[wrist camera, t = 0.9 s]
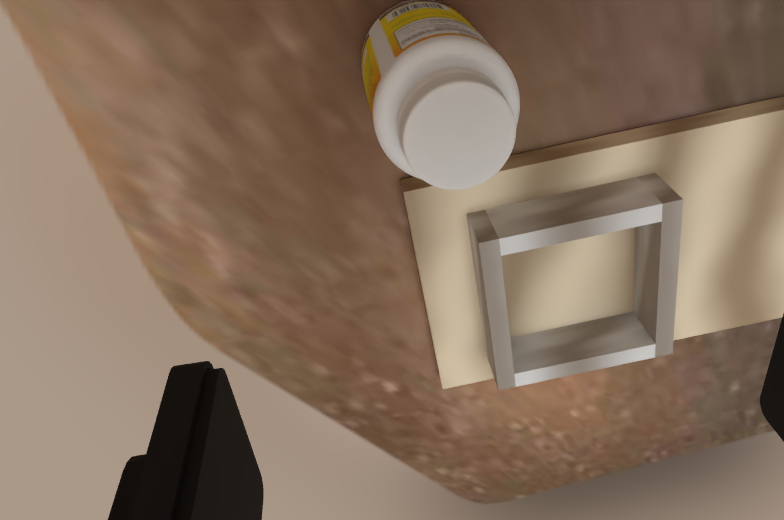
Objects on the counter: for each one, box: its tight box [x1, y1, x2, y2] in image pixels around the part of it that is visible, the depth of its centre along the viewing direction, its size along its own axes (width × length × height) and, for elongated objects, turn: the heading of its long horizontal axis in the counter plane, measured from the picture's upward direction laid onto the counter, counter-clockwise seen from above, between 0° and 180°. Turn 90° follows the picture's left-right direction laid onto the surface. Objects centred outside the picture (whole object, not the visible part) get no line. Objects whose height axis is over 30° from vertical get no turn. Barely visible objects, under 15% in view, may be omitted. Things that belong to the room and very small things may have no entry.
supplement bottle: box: [361, 0, 520, 190], centre depth 26 cm, size 6×6×10 cm
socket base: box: [400, 96, 784, 390], centre depth 35 cm, size 26×14×4 cm, turn 100°
